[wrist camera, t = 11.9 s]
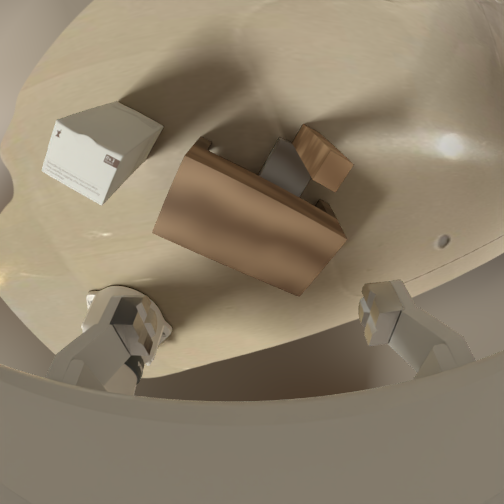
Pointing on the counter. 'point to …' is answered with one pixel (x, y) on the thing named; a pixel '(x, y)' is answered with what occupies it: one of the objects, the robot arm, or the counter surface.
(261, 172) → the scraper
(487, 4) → the counter surface
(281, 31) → the counter surface
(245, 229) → the small wooden table
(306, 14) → the counter surface
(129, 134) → the skincare box
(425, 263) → the counter surface
